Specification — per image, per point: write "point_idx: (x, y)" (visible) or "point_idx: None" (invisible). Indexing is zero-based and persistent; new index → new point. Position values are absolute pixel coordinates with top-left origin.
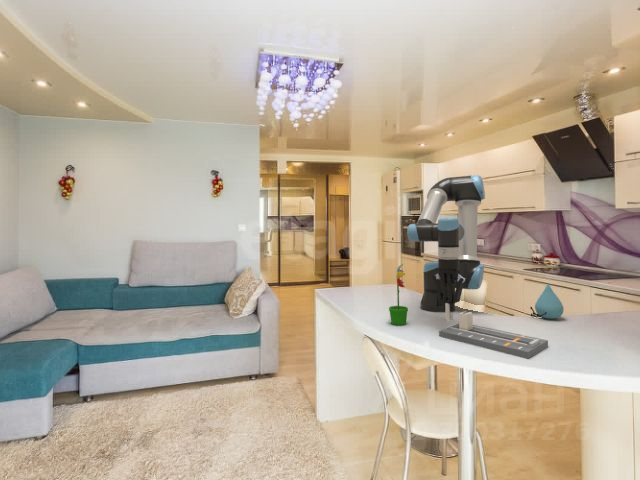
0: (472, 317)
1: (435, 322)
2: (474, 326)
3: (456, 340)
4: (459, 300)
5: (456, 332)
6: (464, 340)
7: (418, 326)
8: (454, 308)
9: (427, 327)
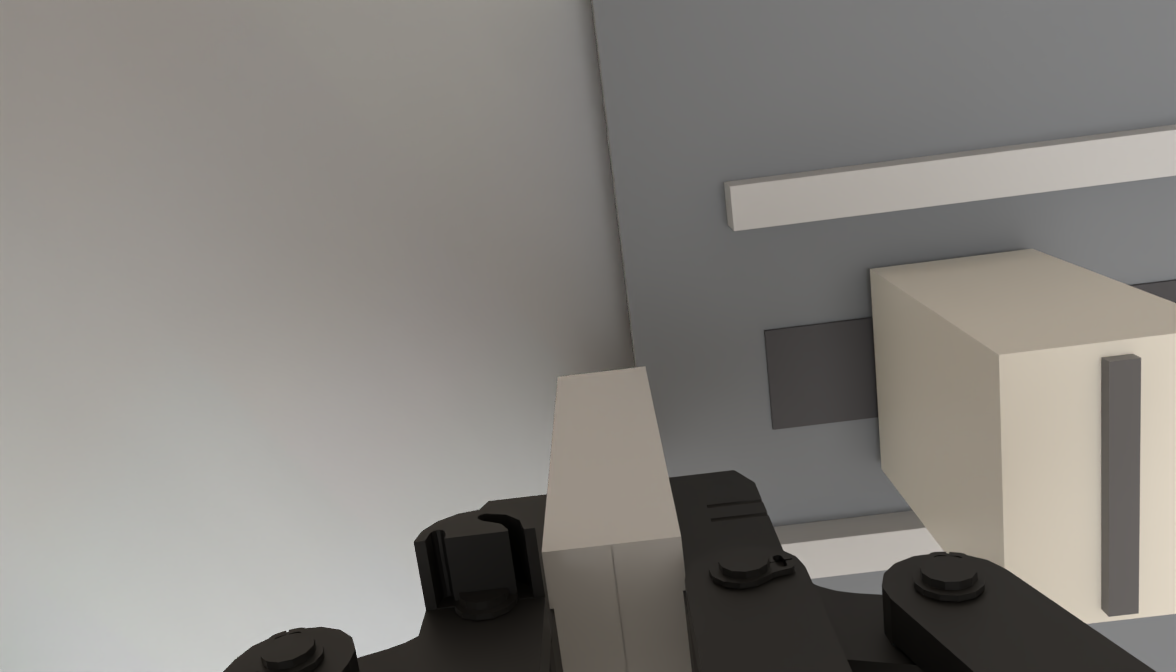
0: (1157, 298)
1: (35, 101)
2: (1037, 167)
3: None
4: (1017, 601)
5: None
6: None
7: (92, 559)
8: (767, 522)
9: (222, 484)
